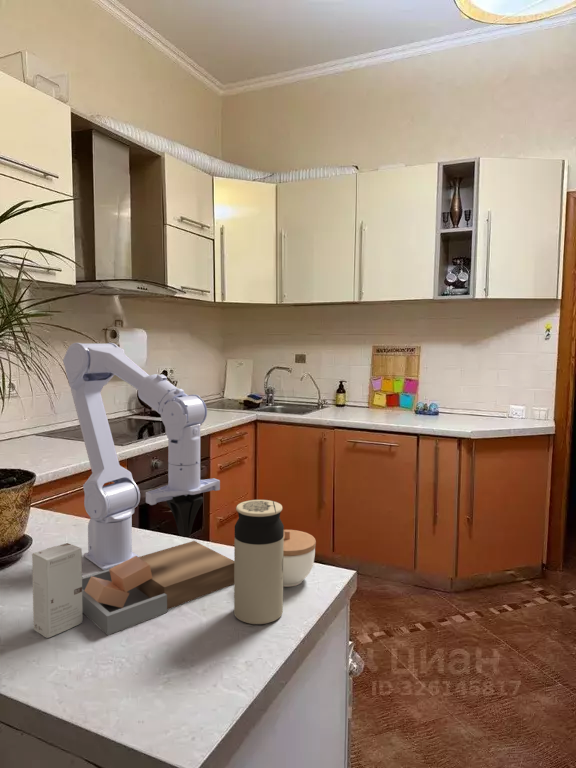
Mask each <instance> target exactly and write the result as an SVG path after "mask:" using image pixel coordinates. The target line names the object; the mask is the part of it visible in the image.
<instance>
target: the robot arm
mask: <svg viewBox="0 0 576 768" xmlns="http://www.w3.org/2000/svg"><path fill="white" fill-rule="evenodd" d="M125 352H126V351H125V349H124V348H122V347H119V346H118V345H117V344H116V343H114V342H107V343H82V342H73V343H71V344H70V345H69V346H68V348H67V350H66V352H65V354H64V357H63V359H62V362H63V365H64V370H65V374H66V378H67V380H68V381H67V382H68V385H69V388H70V392H71V396H72V400H73V403H74V407H75V411H76V415H77V419H78V423H79V426H80V427H79V428H80V431H81V434H82V438H83V443H84V446H85V450H86V453H87V457H88V461H89V465H90V468H91V474H90V476H89V477H88V479H87V480H86V481H85V482H84V483H83V485H82V489H83V493H84V501H83V503H84V504H83V505H84V509H85V511H86V513H87V515H88V517H89V518H90V519H89V521H88V524H87V548H88V549H87V550H88V552H85V553H83V556H84V557H85V558H86V559H87V560H89V561H90V562H92V564H94V565H95V566H97V567H98V568H99V569H101V570H102V571H104V570H108V569H111V568H113V567H115V566H117V565H119V564H121V563H123V562H125V561H127V560H129V559H131V558H133V557H135V556H137V557H140V555H138V554H137V553H135V552H133V525H132V520H133V519H132V517H133V516H132V515H133V514H135V508H136V507H138V505H139V503H140V500H141V493H140V488H139V485H137V484H136V482H135V479H133V474H132V472H131V471H130V470H128V469H126V468H125V467H123V466H122V465H120V461H119V459H118V455H117V451H116V446H115V443H114V439H113V435H112V431H111V426H110V424H109V421H108V416H107V413H106V408H105V405H104V401H103V397H102V394H101V393H102V390H103V388H104V386H106V385H107V384H109V382H110V381H111V380H112V378H114V376H116V377H118V379H120V380H122V381H124V382H125V383H127V384H128V385H130V386H132V387H133V388H135V389H136V390H137V395H138V398H139V399H140V400H141V402H143V403H145V404H146V405H148V406H149V407H150V408H152V409H153V411H155V412H157V413H158V414H159V415H160V418H161V421H162V423H163V425H164V427H165V436H167V441H168V448H167V449H168V450H167V451H168V453H167V454H168V455H167V456H168V458H167V459H168V460H167V462H168V464H167V466H168V469H167V472H168V473H167V476H168V480H167V481H168V484H166V485H163V486H161V487H158V488H155V489H152V490H148V491H145V503H146V504H149V506H154V505H157V503H160V502H162V503H163V502H165V503H166V504H167V507H169V509H170V511H171V513H172V515H173V518H174V521H175V525H176V528H177V534H178V535H179V536H181V537H183V538H186V537H189V536H191V533H192V529H193V525H194V522H195V519H196V516H197V515H198V511H199V509H200V508H201V506H202V504H203V503H204V497H203V496H202V495H200V494H202V493H206V492H211V491H215V492H216V491H220V490H221V480H220V479H217V478H214V477H213V478H207V479H201V425H202V424H204V423H205V421H206V419H207V416H208V407H207V404H206V402H205V401H204V399H203V398H201V396H200V395H199V394H195V393H193V394H187V393H186V392H185V390H184V389H183V388H178V387H177V386H176V385H174V384H172V382H170V381H168V380H167V379H168V377H167V376H166V375H165V374H162V373H161V374H157V373H155V374H148V373H147V372H146V371H145V370H144V369H142V368H141V366H139V365H138V364H137V363H136V362H134V361H133V360H132V359H131V358H129V356H127V355H126V353H125ZM111 482H113V483H111ZM106 483H110V484H107V485H105V484H106Z"/></svg>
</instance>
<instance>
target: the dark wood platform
mask: <svg viewBox="0 0 576 768" xmlns="http://www.w3.org/2000/svg"><path fill="white" fill-rule="evenodd" d="M139 556H140V555H139ZM138 558H140V559H141V560H143V561H144V562H146V563H148V564H149V565H150V569H151V574H152V578H151V579H150V580H148V581H146V582H144V583H142V584H140V585H139V586H137V587H135V588H137V589H138V590H140V591H141V592H142V593H144V594H145V595H147V596H148V597H149V598H152V597H155V596H158V595H161V594H163V593H165V594H166V595H167V611H168V610H171V609H173V608H175V607H178V606H180V604H181V605H183V604H186V603H188V601H189V602H191V601H194V600H196V599H199V598H201V597H204V596H206V595H209V594H212V593H214V592H217V591H220V590H222V589H225V588H228V587H230V586H233V585H234V559H231V558H229V557H227V556H226V555H223V554H221V553H220V552H217V551H215V550H213V549H211V548H209V547H207V546H205V545H203V544H201V543H199V542H197V541H195V540H191V541H189V542H186V543H181V544H179V545H175V546H172V547H167V548H165V549H162V550H157V551H154V552H152V553H148V554H144V555H141V556H140V557H138ZM185 602H186V603H185ZM172 607H173V608H172Z"/></svg>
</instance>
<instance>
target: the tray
mask: <svg viewBox="0 0 576 768" xmlns="http://www.w3.org/2000/svg"><path fill="white" fill-rule="evenodd" d="M109 569H110V568H109ZM109 569H106V570H102V571H99V572H98V571H97V572H94V573H92V574H91V573H90V574H88V575H85V576H84V575H83V576H82V610H83V611H82V612H83V615H85V616H86V617H87V618H88V619H89V620H90V621H91V622H92V623H93V624H95V626H97V627H98V628H99V629H100V630H101V631H102V632H103V633H104V634H105V635H106V636H109V635H112V634H115V633H118V632H119V631H123V630H125V629H127V628H131V627H133V626H136V625H138V623H139V624H140V623H143V622H146V621H149V620H151V619H155V618H156V616H157V617H159V616H162V615H165V614H167V613H168V610H167V595H166V594H165V593H163V594H161V595H158V596H155V597H152V598H149V597H148V596H147V595H145V594H144V593H142V592H141V591H140V590H138V589H137V588H133V589H131V590H129V591H127V592H129V596H128V598H127V600H126V602H125V604H124V606H123V608H120V607H116V606H112V605H107V604H103V603H99V602H97V601H96V600H95V599H93V598H92V597H91V596H90V595H89V594H87V593H86V592H85V591H84V590H85V588H86V586H87V584H88V582H89V580H90V578H91V576H92V577H96V578H100V579H103V580H107V581H111V582H112V579H111V575H110V571H109ZM161 614H162V615H161Z"/></svg>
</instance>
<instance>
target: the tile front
mask: <svg viewBox="0 0 576 768" xmlns="http://www.w3.org/2000/svg"><path fill="white" fill-rule="evenodd" d="M84 591H85V592H86V593H87V594H89V595H90V596H91V597H92V598H93V599H95V600H96V601H97V602H99V603H103V604H107V605H112V606H116V607H120V608H123V606H124V604H125V602H126V600H127V598H128V596H129V592H124V591H123V590H122V589H120V588H119V587H118V586H116V585H115V584H114V583H112V582H111V581H107V580H103V579H100V578H96V577H92V576H91V578H90V580H89V582H88V584H87V586H86V588H85V590H84Z"/></svg>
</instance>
